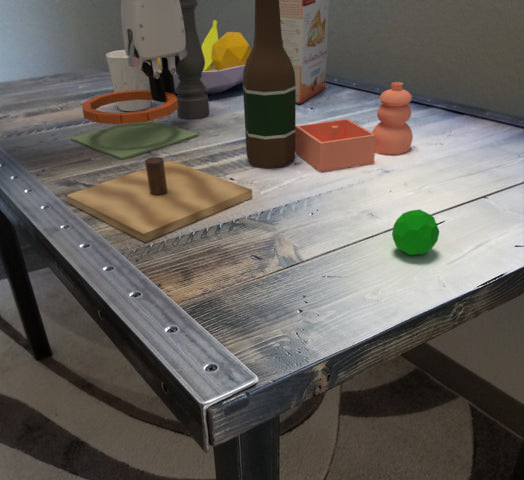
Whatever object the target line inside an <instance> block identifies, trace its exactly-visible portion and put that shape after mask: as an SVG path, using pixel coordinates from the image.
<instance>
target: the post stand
mask: <svg viewBox="0 0 524 480" xmlns="http://www.w3.org/2000/svg"><path fill="white" fill-rule="evenodd" d="M144 162H145V163H144V164H145V168H144V169H140V170H136V171H134V172H131V173H128V174H125V175H121V176H119V177H116V178H113V179H110V180H107V181H103V182H101V183H98V184H95V185H93V186H89V187H86V188H83V189H80V190H77V191H74V192H71V193H68V194H66V195H65V196H66V200H67V203H68V204H69V205H71V206H73V207H75V208H77V209H79V210H81V211H82V212H85V213H87V214H89V215H90V216H92V217H94V218H96V219H99V220H100V221H102V222H104V223H106V224H108V225H110V226H112V227H114V228H116V229H118V230H120V231H122V232H123V233H126V234H127V235H129V236H132V237H134V238H135V239H137V240H139V241H141V242H143V243H148V242H150V241H153V240H154V239H155V240H156V239H157V238H160V237H162V236H164V235H166V234H169V233H171V232H174V231H177V230H179V229H182V228H183V227H186V226H188V225H190V224H193V223H195V222H198V221H200V220H203V219H204V218H207V217H210V216H212V215H214V214H217V213H219V212H222V211H224V210H226V209H229V208H231V207H233V206H236V205H238V204H241V203H243V202H245V201H247V200H250V199H252V198H253V190H252V189H251V188H249V187H246V186H244V185H241V184H237V183H234V182H232V181H229V180H227V179H223V178H221V177H218V176H215V175H212V174H209V173H207V172H205V171H201V170H199V169H196V168H193V167H191V166H187V165H185V164H182V163H179V162H176V161H174V160H168V161H164V158H163V157H159V156H152V157H148V158H146V159H145V160H144Z"/></svg>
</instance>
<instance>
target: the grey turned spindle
mask: <svg viewBox="0 0 524 480" xmlns="http://www.w3.org/2000/svg"><path fill="white" fill-rule="evenodd" d="M179 1H180V5H181V10H182V15H183V21H184V28H185V38H186V46H185V48H186V50H187V56H186V57H184V58H183V59H182V60H181V61H179V63H178V65H177V67H176V73H177V74H178V79H179V80H180V82H179V84H178V87H177V88H176V92H177V93H178V94H177V95H176V96H175V97H176V98H177V100H178V109H177V110H176V114H177V117H178V119H182V120H201V119H204V118H207V117H208V116H209V115H210V103H209V94H205V93H204V92H205V91H206V87H205V86H204V85H203V83H202V81H200V79H201V77H202V75H201V73H202V71H203V69H204V67H205V58H204V55H203V52H202V48H201V45H202V44H201V42H200V38H199V35H198V32H197V31H198V30H197V26H196V15H195V13H196V12H195V11H196V7H198V6H199V5H198V1H197V0H179Z"/></svg>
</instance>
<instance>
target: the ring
mask: <svg viewBox="0 0 524 480" xmlns="http://www.w3.org/2000/svg"><path fill="white" fill-rule="evenodd" d="M176 97H177V96H176V94H175V95H174V94H172V93H168V92H165V98H166V101H165V102H163V103H162V104H161V105H159V106H155V107H150V108H147V109H145V110H140V111H124V112H111V111H101V110H98V109H99V108H101V107H103V106H107V105H111V104H115V103H117V102H120V101H130V100H151V101H154V100H153V99H152V95H151V90H129V91H119V92H114V91H111V92H108V93H104V94H100V95H97V96H93V97H91V98H89V99H88V100H86V101H84V102H82V103H81V107H82V113H83V118H84V119H85V120H88V121H91V122H94V123H97V124H106V125H107V124H110V125H119V124H129V123H138V122H147V121H151V120H154V121H156V120H158V119H161V118H164V117H168V116H170V115H172V114H173V113H174V112H175V111H176V112H177V109H178V100H177V98H176Z"/></svg>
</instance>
